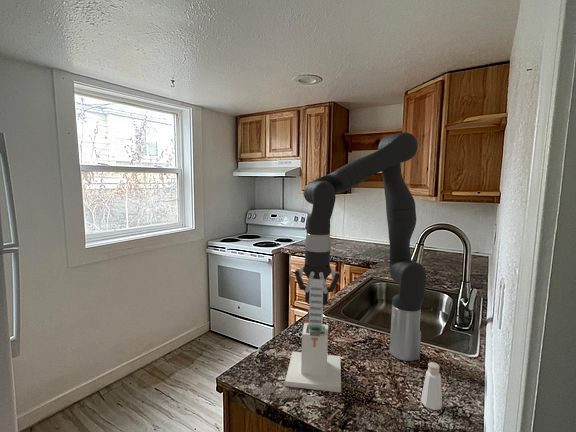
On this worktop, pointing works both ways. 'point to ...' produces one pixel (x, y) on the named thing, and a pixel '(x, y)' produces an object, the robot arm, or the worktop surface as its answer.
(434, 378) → the pepper shaker
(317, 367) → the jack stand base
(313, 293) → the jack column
